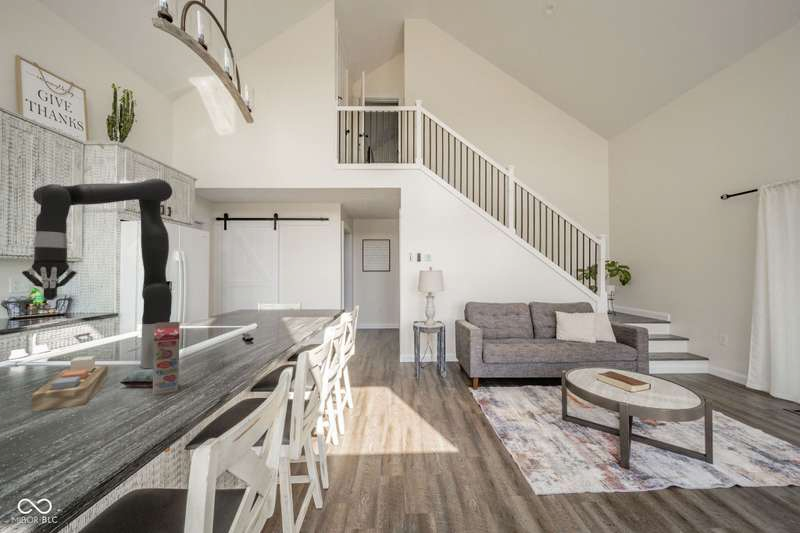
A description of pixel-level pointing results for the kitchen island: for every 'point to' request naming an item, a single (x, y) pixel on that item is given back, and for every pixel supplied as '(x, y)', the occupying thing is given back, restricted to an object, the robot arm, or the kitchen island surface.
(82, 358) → the white square block
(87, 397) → the light brown rectangular frame
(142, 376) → the packaged food
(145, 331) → the robot arm
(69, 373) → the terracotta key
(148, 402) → the kitchen island surface
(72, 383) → the slate key
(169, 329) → the juice carton
